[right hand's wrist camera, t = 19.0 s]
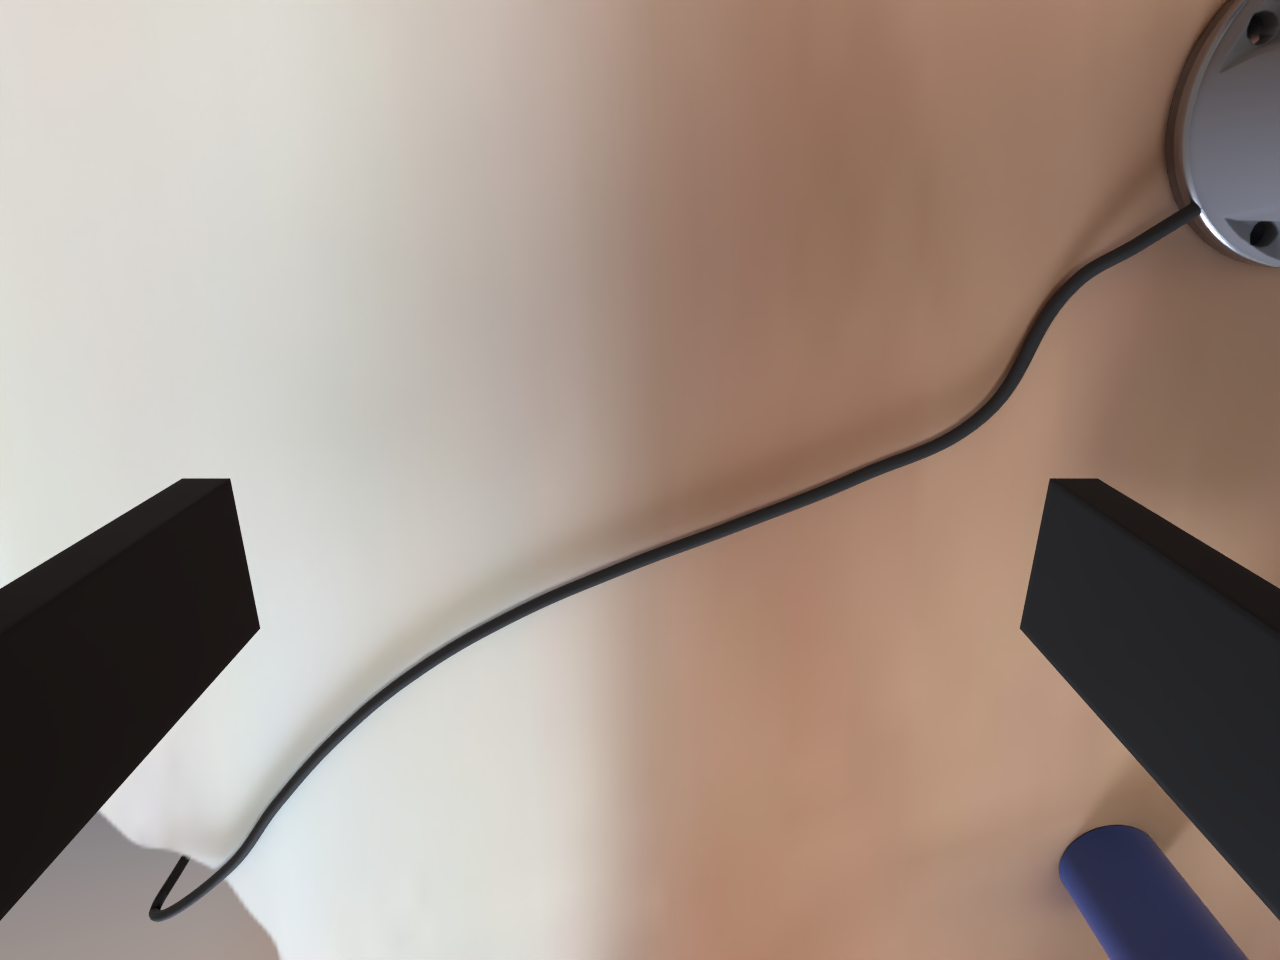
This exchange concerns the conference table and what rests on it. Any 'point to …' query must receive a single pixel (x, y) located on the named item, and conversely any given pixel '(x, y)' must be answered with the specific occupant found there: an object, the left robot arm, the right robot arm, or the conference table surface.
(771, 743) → the conference table surface
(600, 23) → the conference table surface
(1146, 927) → the canister
